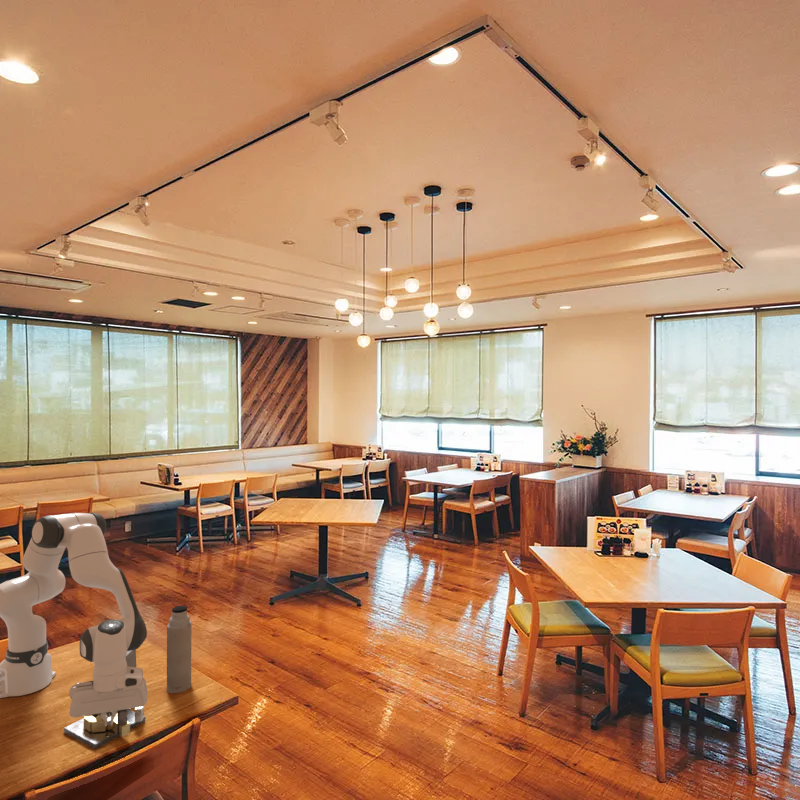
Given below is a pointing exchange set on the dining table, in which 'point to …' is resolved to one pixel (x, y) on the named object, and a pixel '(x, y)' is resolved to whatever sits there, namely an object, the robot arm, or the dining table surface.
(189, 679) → the thermos bottle
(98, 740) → the grey peg base
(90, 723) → the tan ring with handle
